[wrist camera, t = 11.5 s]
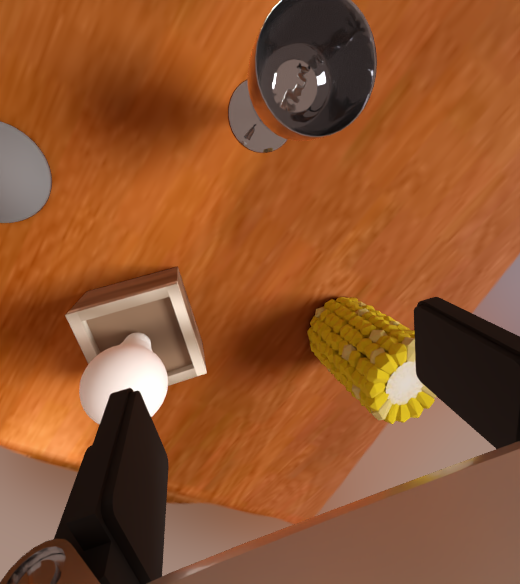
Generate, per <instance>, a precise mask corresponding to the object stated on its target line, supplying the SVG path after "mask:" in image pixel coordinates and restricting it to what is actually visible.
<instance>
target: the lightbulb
mask: <svg viewBox="0 0 520 584" xmlns="http://www.w3.org/2000/svg"><path fill="white" fill-rule="evenodd" d="M127 388H132V390H133V391H137V390H138V391H139V392H140V393H141V395H142V397H143V400H144V402H145V405H146V407H147V409H148V412H149V414H150V416H151V417H152V416H153V415H154V414H155V413H156V411H157V410H158V409H159V408H160V406H161V405H162V403H163V401H164V398H165V396H166V393H167V388H168V375H167V372H166V369H165V366H164V364H163V363H162V361H161V359H160V358H159V357H158V356H157V355H156V354H155V353H153V352H152V349H151V341H150V339H149V338H148V336H146V335H145V334H143V333H132V334H130V335H128V336H127V337H126V338H125V340H124V341H123V342H122V343H121V344H120V345H117V346H113V347H111V348H108V349H106V350H104V351H103V352H101V353H100V354H99V355H97V356H96V357H95V358H94V359H93V360H92V361H91V362H90V363H89V364H88V366H87V367H86V369H85V371H84V373H83V375H82V378H81V381H80V390H79V394H80V400H81V404H82V406H83V409H84V410H85V412H86V413H87V415H88V416H89V417H90V418H91V419H92V420H94V421H95V422H96V423H98V424H100V422H101V419H102V416H103V414H104V411H105V408H106V405H107V402H108V399H109V396H110V394H111V393H114V392H117V391H121V390H124V389H127Z"/></svg>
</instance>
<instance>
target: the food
mask: <svg viewBox="0 0 520 584" xmlns="http://www.w3.org/2000/svg"><path fill="white" fill-rule="evenodd" d="M310 325H311V327H310V328H309V330H308V331H307V334H308V337H309V340H310V347H311V351H312V352H314V355H315V356H316V357H317V358H318V359H319V360H320V361H321V363H322V364H323V365H324V366H326V367H327V369H328V371H329V372H331V374H334V377H335V378H336V379H337V380H338V381H340V383H341V384H343V385H344V386H346V390H347V391H349V392H351V394H352V396H353V397H355V398H356V399H358V400H359V401H360V403H361V405H362V406H365V407H366V408H367V410H368V411H369V412H370V413H372V415H373V416H374V417H375V418H376V419H378V420H384V421H386V422H388V423H391V424H393V423H394V422H395V421H399V422H405V421H407V420H408V419H409V418H410V417H413V418H419V417H420V415H421V413H422V411H423V408H430V406H431V405H432V404H433V402H434V401H435V400H434V398H436V397H437V396H436V395H435V394H434V393H433V392H431V391H430V390H429V389H428V388H427V387H426V386H425V385H424V384H422V383H421V382H420V380H419V379H418V377H417V375H416V363H415V331H413V330H410V329H409V328H407V327H405V326H403V325H402V324H400V323H399V322H397V321H395V320H394V319H392V318H391V317H389V316H386V314H381V312H380V311H379V310H378V311H376V310H374V308H373V306H369V305H366V304H364V303H362V302H361V301H358V300H357V299H356V298H352V297H351V298H345V297H339V298H337V299H336V301H335V300H333V299H331V300H330V301H328V302H326V303H325V305H324V307H321V308H318V309H316V312H315V316H314V317H313V319H312V320H311V322H310Z"/></svg>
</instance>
